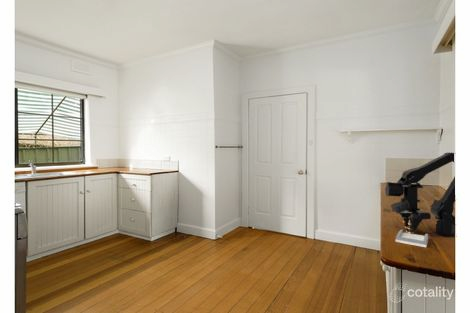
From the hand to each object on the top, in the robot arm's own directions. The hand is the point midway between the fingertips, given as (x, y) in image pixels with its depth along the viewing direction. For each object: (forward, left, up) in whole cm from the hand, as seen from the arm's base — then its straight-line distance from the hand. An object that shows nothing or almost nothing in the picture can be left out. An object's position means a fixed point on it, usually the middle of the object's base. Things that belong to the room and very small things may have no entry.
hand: (410, 229), depth 126 cm
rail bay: (+6, +10, -2) cm, 12 cm away
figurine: (0, 0, -2) cm, 2 cm away
